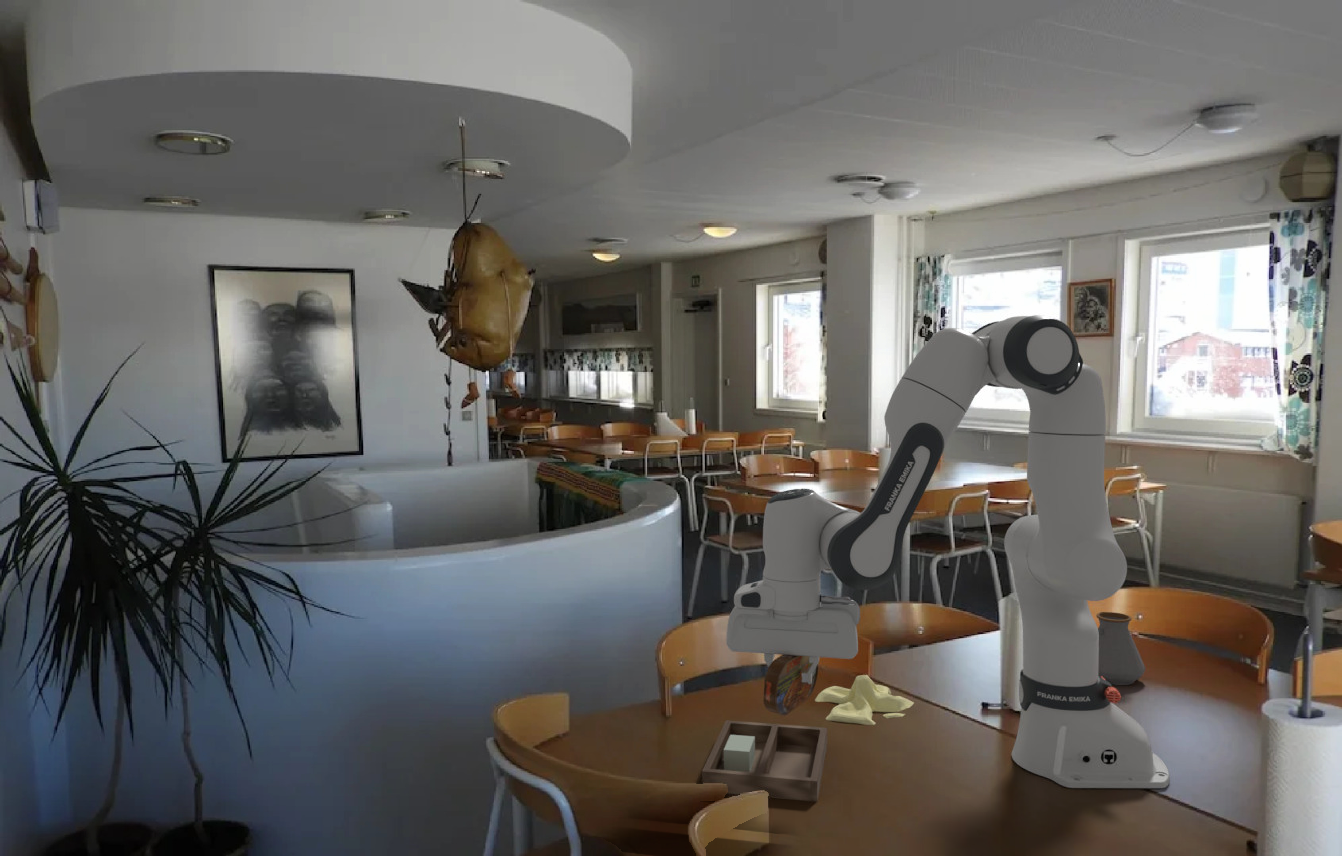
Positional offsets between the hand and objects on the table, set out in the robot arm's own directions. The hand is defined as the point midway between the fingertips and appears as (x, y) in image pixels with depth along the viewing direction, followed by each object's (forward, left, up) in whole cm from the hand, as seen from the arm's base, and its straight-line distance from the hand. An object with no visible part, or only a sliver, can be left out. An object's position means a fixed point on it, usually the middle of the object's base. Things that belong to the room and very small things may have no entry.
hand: (791, 681), depth 141 cm
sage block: (+8, 0, -14) cm, 16 cm away
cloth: (-11, -33, -16) cm, 38 cm away
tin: (+1, 0, -4) cm, 4 cm away
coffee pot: (-54, -54, -15) cm, 78 cm away
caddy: (+4, 0, -15) cm, 15 cm away
